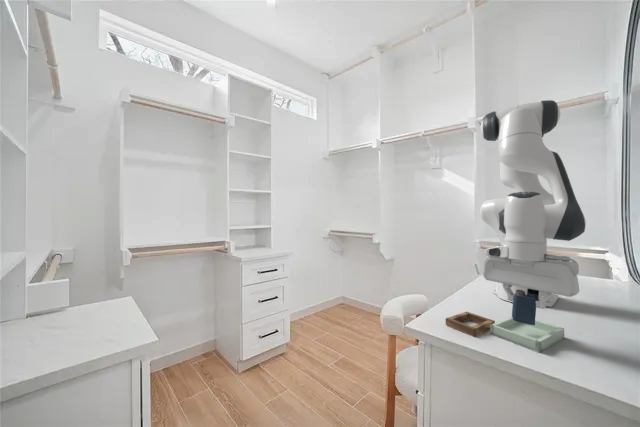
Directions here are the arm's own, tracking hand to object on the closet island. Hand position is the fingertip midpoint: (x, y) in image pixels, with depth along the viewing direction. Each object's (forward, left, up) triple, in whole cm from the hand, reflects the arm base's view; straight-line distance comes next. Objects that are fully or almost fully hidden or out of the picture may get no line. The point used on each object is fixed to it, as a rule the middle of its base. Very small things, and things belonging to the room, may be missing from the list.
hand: (525, 304), depth 68 cm
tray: (0, 0, -9) cm, 9 cm away
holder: (+7, -11, -9) cm, 16 cm away
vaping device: (0, -1, -5) cm, 5 cm away
